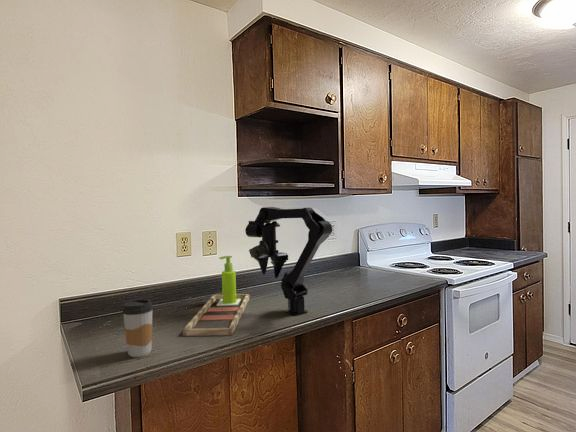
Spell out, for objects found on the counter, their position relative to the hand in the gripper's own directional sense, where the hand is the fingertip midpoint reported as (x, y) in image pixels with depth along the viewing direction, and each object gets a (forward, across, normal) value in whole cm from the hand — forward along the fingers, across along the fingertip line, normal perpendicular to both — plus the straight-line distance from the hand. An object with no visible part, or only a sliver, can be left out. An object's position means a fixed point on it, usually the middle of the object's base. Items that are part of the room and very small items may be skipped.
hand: (270, 276), depth 146 cm
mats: (+13, -6, -19) cm, 24 cm away
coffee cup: (+13, +12, -54) cm, 57 cm away
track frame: (+13, -6, -19) cm, 24 cm away
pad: (+13, -18, -10) cm, 24 cm away
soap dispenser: (+13, -17, -10) cm, 24 cm away
